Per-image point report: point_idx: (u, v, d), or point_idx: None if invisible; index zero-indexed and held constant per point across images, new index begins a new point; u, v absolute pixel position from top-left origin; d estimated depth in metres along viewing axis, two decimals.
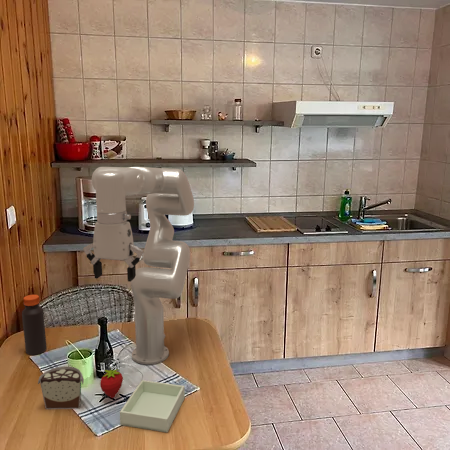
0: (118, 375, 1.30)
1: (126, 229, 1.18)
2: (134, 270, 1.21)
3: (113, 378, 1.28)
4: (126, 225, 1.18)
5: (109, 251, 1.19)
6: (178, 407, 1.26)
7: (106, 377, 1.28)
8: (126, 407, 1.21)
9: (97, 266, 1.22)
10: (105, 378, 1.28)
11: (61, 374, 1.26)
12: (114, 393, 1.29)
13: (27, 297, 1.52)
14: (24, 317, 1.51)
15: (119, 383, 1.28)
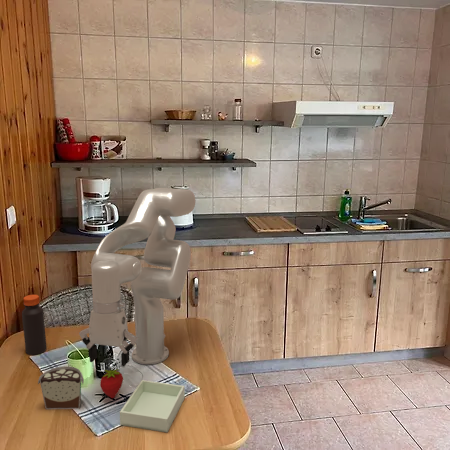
0: (118, 375, 1.30)
1: (121, 317, 1.23)
2: (128, 355, 1.26)
3: (113, 378, 1.28)
4: (121, 313, 1.23)
5: (104, 338, 1.24)
6: (178, 407, 1.26)
7: (106, 377, 1.28)
8: (126, 407, 1.21)
9: (92, 350, 1.27)
10: (105, 378, 1.28)
11: (61, 374, 1.26)
12: (114, 393, 1.29)
13: (27, 297, 1.52)
14: (24, 317, 1.51)
15: (119, 383, 1.28)
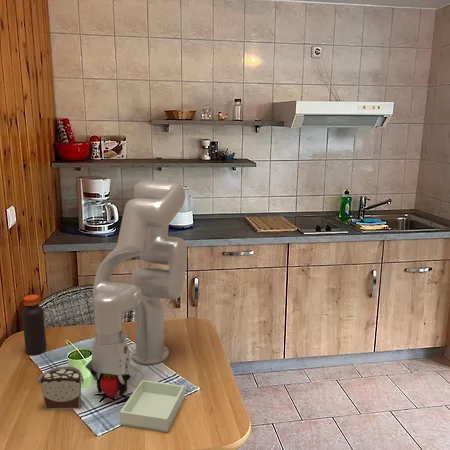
0: None
1: (123, 347, 1.25)
2: (125, 385, 1.29)
3: (113, 378, 1.28)
4: (123, 343, 1.25)
5: (107, 367, 1.26)
6: (178, 407, 1.26)
7: (106, 377, 1.28)
8: (126, 407, 1.21)
9: None
10: (105, 378, 1.28)
11: (61, 374, 1.26)
12: (114, 393, 1.29)
13: (27, 297, 1.52)
14: (24, 317, 1.51)
15: None
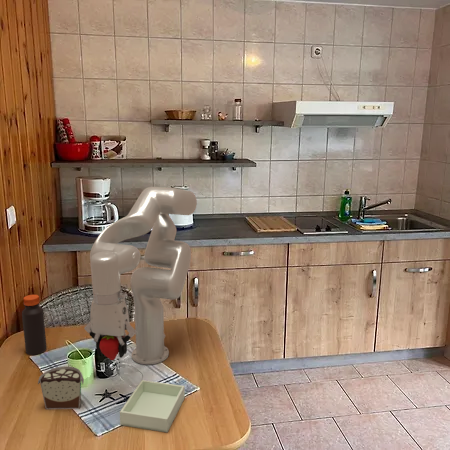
0: None
1: (121, 308, 1.23)
2: (125, 346, 1.27)
3: (112, 340, 1.26)
4: (121, 304, 1.23)
5: (106, 328, 1.24)
6: (178, 407, 1.26)
7: (105, 339, 1.26)
8: (126, 407, 1.21)
9: None
10: (104, 340, 1.26)
11: (61, 374, 1.26)
12: (114, 355, 1.27)
13: (27, 297, 1.52)
14: (24, 317, 1.51)
15: None
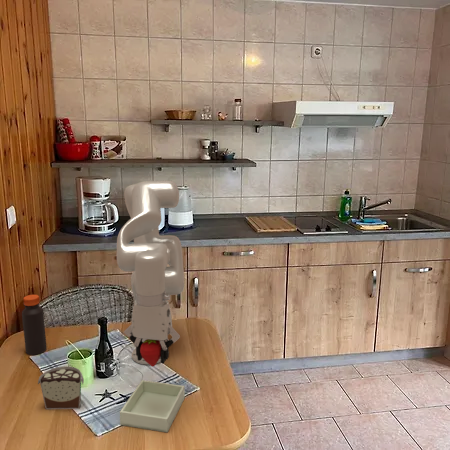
0: (159, 341, 1.20)
1: (166, 310, 1.16)
2: (167, 352, 1.20)
3: (154, 344, 1.19)
4: (165, 306, 1.16)
5: (148, 332, 1.17)
6: (178, 407, 1.26)
7: (147, 343, 1.19)
8: (126, 407, 1.21)
9: None
10: (146, 344, 1.19)
11: (61, 374, 1.26)
12: (155, 361, 1.19)
13: (27, 297, 1.52)
14: (24, 317, 1.51)
15: (160, 350, 1.19)
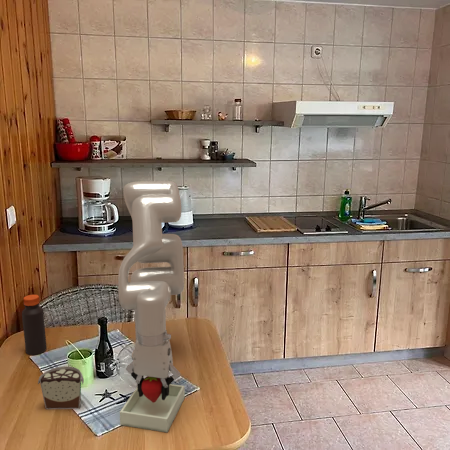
0: None
1: (166, 349, 1.19)
2: (168, 388, 1.23)
3: (155, 381, 1.22)
4: (166, 345, 1.19)
5: (149, 370, 1.20)
6: (178, 407, 1.26)
7: (148, 380, 1.22)
8: (126, 407, 1.21)
9: (141, 385, 1.23)
10: (147, 381, 1.21)
11: (61, 374, 1.26)
12: (156, 397, 1.22)
13: (27, 297, 1.52)
14: (24, 317, 1.51)
15: (161, 387, 1.22)
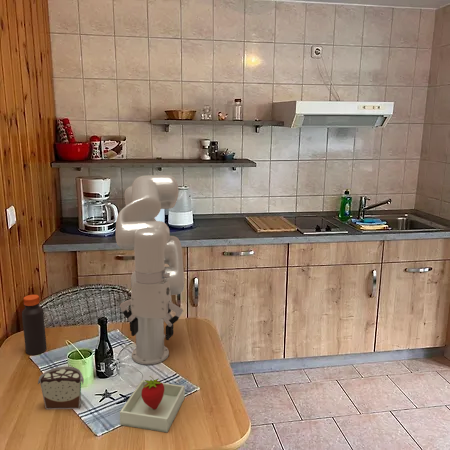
0: (159, 385, 1.24)
1: (165, 288, 1.15)
2: (172, 328, 1.18)
3: (155, 388, 1.22)
4: (165, 284, 1.15)
5: (147, 310, 1.16)
6: (178, 407, 1.26)
7: (147, 388, 1.22)
8: (126, 407, 1.21)
9: (134, 323, 1.19)
10: (146, 389, 1.22)
11: (61, 374, 1.26)
12: (157, 404, 1.23)
13: (27, 297, 1.52)
14: (24, 317, 1.51)
15: (161, 393, 1.23)
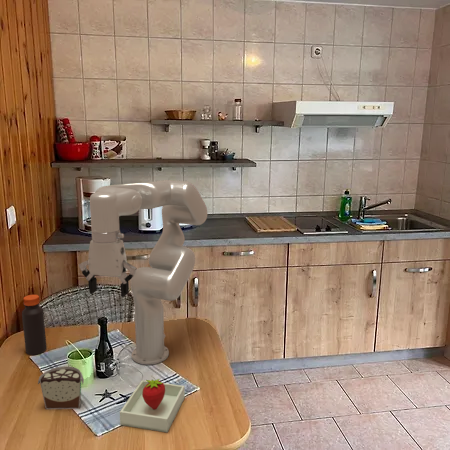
0: (161, 385, 1.24)
1: (119, 247, 1.24)
2: (127, 286, 1.27)
3: (156, 388, 1.22)
4: (119, 244, 1.24)
5: (103, 269, 1.25)
6: (178, 407, 1.26)
7: (149, 387, 1.22)
8: (126, 407, 1.21)
9: (92, 282, 1.28)
10: (148, 388, 1.22)
11: (61, 374, 1.26)
12: (157, 404, 1.23)
13: (27, 297, 1.52)
14: (24, 317, 1.51)
15: (162, 393, 1.23)
